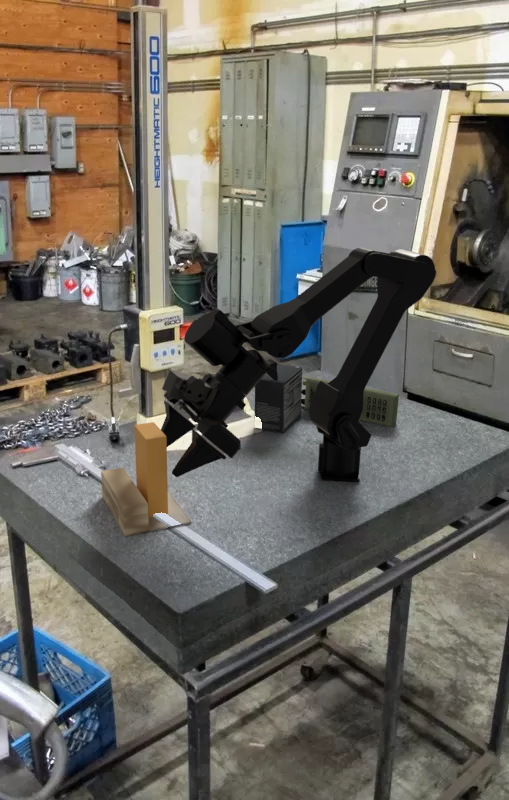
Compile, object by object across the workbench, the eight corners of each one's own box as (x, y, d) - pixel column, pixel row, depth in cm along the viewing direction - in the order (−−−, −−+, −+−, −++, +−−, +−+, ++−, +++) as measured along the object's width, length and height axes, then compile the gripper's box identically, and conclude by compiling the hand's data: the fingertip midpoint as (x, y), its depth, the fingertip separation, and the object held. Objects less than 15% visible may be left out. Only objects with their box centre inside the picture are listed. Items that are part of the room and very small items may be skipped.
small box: (272, 410, 156) (273, 361, 153) (302, 415, 154) (304, 366, 150) (252, 428, 147) (253, 376, 143) (283, 434, 145) (285, 381, 141)
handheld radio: (391, 429, 148) (278, 405, 160) (397, 424, 151) (285, 401, 163) (395, 396, 146) (280, 374, 158) (400, 392, 149) (287, 371, 161)
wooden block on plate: (163, 486, 123) (163, 460, 121) (191, 523, 112) (191, 495, 110) (102, 497, 119) (101, 471, 117) (124, 536, 108) (123, 508, 106)
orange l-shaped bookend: (155, 496, 119) (153, 422, 114) (168, 513, 114) (166, 436, 109) (121, 503, 117) (117, 427, 112) (132, 520, 111) (129, 442, 107)
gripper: (174, 335, 118) (108, 412, 118) (219, 369, 102) (143, 458, 102) (221, 377, 124) (159, 450, 124) (271, 416, 108) (199, 500, 108)
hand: (164, 462), depth 114 cm, fingers open, 9 cm apart
